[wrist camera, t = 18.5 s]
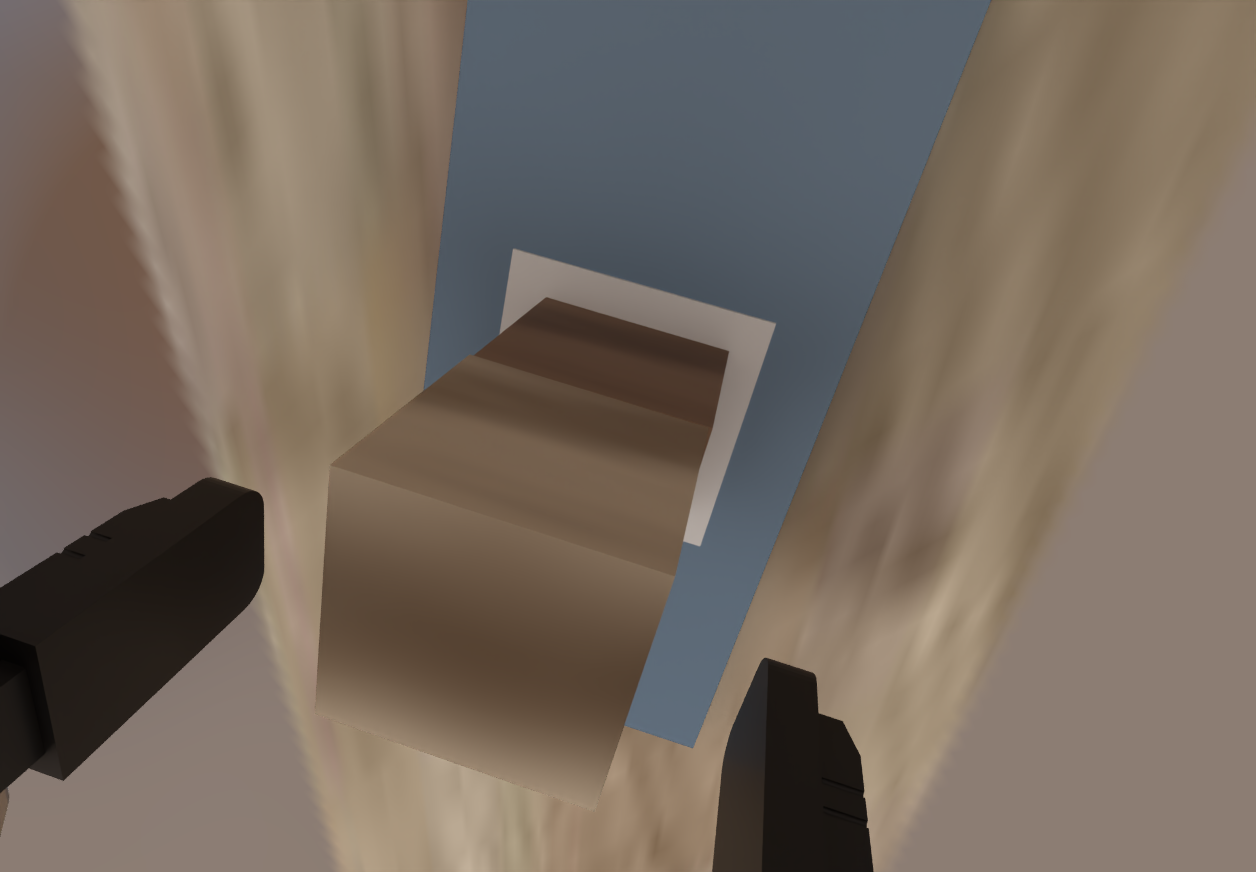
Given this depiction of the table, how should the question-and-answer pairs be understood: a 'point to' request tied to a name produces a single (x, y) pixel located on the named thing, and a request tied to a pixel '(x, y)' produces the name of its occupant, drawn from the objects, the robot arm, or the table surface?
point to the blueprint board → (697, 231)
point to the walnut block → (615, 360)
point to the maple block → (503, 573)
